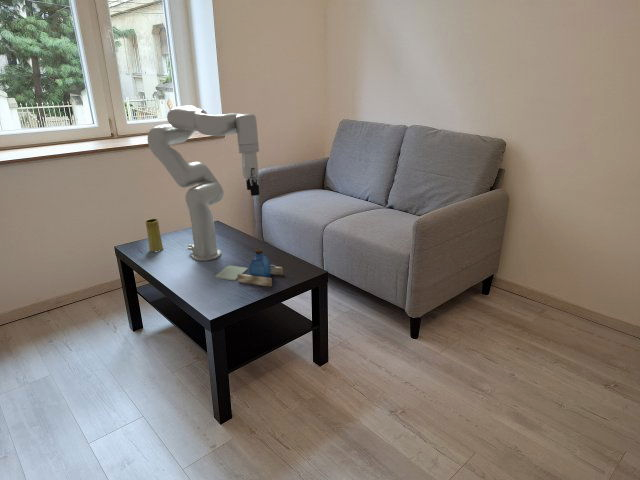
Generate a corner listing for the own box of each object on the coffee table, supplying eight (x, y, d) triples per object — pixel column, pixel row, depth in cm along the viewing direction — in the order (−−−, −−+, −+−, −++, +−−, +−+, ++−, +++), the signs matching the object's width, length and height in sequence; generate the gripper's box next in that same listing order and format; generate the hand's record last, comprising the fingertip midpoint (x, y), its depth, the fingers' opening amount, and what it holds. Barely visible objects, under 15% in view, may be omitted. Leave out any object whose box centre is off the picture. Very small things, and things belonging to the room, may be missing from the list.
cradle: (237, 281, 172) (237, 273, 171) (251, 269, 182) (250, 261, 181) (270, 286, 168) (270, 278, 166) (282, 274, 178) (282, 265, 176)
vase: (166, 248, 204) (161, 219, 199) (155, 253, 199) (150, 223, 194) (157, 246, 207) (152, 217, 202) (146, 250, 203) (141, 221, 197)
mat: (214, 277, 175) (214, 276, 175) (228, 266, 185) (228, 265, 185) (234, 280, 173) (234, 279, 172) (247, 269, 182) (247, 268, 182)
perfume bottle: (265, 282, 171) (263, 253, 167) (250, 280, 173) (248, 252, 168) (270, 275, 177) (268, 247, 173) (255, 273, 178) (253, 246, 174)
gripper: (235, 146, 173) (240, 188, 179) (242, 152, 157) (246, 198, 163) (254, 144, 175) (258, 186, 181) (262, 150, 159) (266, 196, 165)
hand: (253, 192), depth 172 cm, fingers open, 9 cm apart
